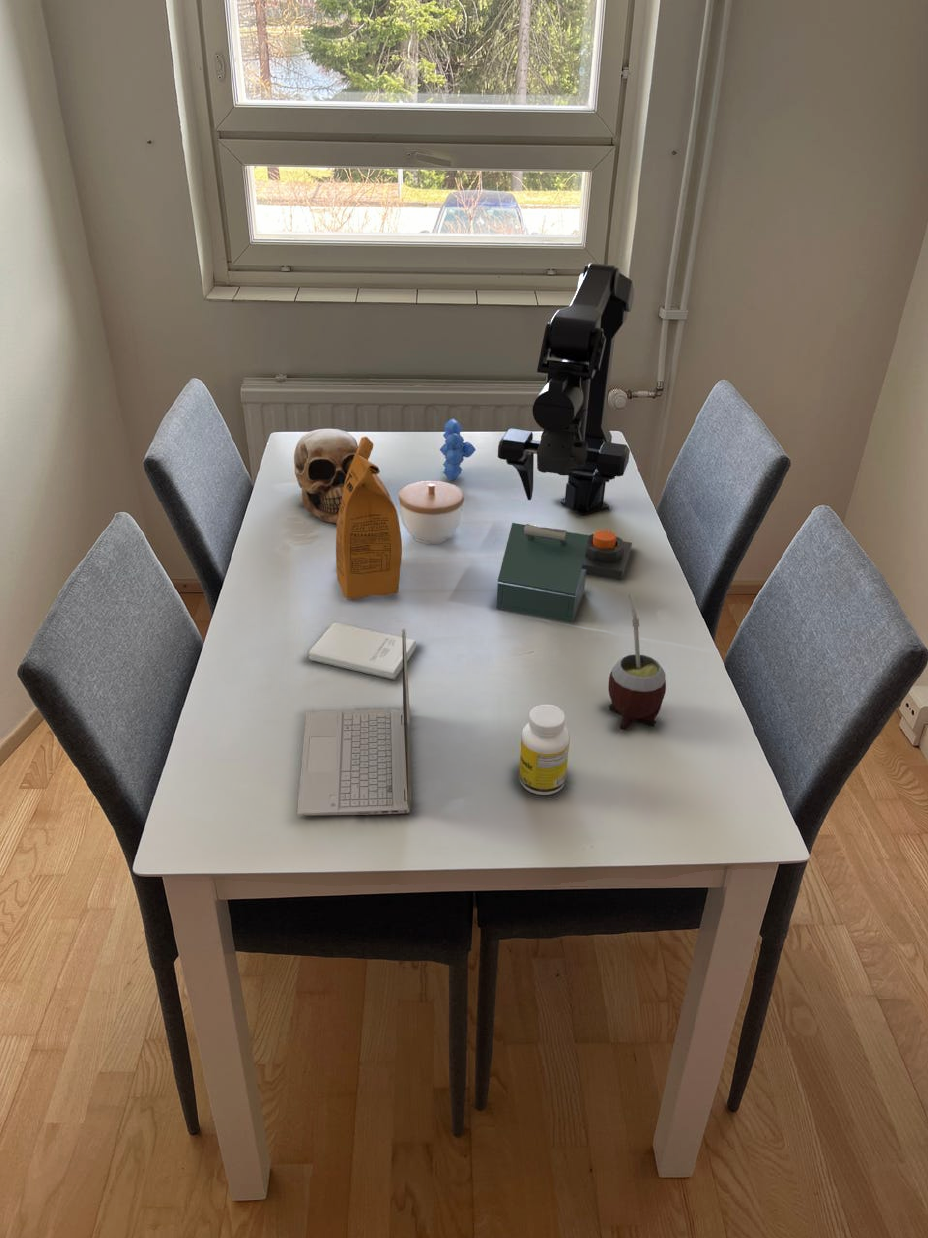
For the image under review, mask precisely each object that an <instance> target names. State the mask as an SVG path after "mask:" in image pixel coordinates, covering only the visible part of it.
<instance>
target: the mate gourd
mask: <svg viewBox="0 0 928 1238" xmlns="http://www.w3.org/2000/svg"><path fill="white" fill-rule="evenodd" d="M625 597H626V600H627V603H628V607H629V608H630V612H631V616H632V619H631V621H632V622H631V623H632V627H633V637H634V639H633V640H634V654H628V655H626V656H623V657H621V658H619V660H618V661H617V662H616V663H615V664H614V665H613V666H612V668H611V671H610V673H609V676H608V694H609V699H610V701H611V702H610V704H609V706H608V710H609V711H610V712H613V713H616V714H618V715H621V717H622V722H621V723H620V725H619V729H620V730H621V731H626V730H627V729H628V728H629V727H630V725H631V724H632V722H634V721H636V722H639V723H641V724H643V725H647V726H649V727H653V728H654V727H655V726H656V723H657V720H655V719H656V717H657V716H658V714H659V713H660V711H661V708H662V704H663V701H664V698H665V696H666V692H667V680H666V678H667V677H666V676H667V675H666V672H665V670H664V668H663V667H662V666H661V664H660V663H659V661H658V660H656V659H654V658H653V657H651V656H648V655H645V654H641V652H640V635H639V633H640V631H639V627H640V622H639V620H640V619H639V618H638V615H637V611H636V608H635V605H634V602H633V601H632V597H631V595H630V593H626V594H625Z"/></svg>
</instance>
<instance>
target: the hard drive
mask: <svg viewBox="0 0 928 1238" xmlns="http://www.w3.org/2000/svg"><path fill="white" fill-rule="evenodd" d="M416 647H417V641H416V639H411V638H406V654H407V662H408V660H409V659H411V656H412V655H413V653H414V651H415V650H416ZM308 658H309V661H312V662H317V663H320V664H325V665H329V666H333V667H338V668H342V669H347V670H351V671H355V672H359V673H363V674H368V675H372V676H376V677H381V678H385V679H389V680H396V679H397V678H398V675H399V674H400V673H401V671H402V670H403V644H402V636H398V635H393V634H389V633H385V632H380V631H375V630H371V629H366V628H362V627H358V626H355V625H354V626H353V625H348V624H344V623H340V622H333V623H332V624H331V625H330V626H329V627H328V629H327V630H326V631H325V632H324V633H323V634H322V636H321V637H320V638H319V639H318V641H316V642H315V644H314V645H313V646H312V648H310V650H309V651H308Z"/></svg>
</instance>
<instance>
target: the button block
mask: <svg viewBox="0 0 928 1238" xmlns="http://www.w3.org/2000/svg"><path fill="white" fill-rule="evenodd" d="M588 535H589V540H588V544H587V548H586V553H585V557H584V561H583V566H582V569H586V575H589V576H595V577H601V578H606V579H611V580H612V579H613V580H616V581H622V580H623V577H624V573H625V570H626V567H627V565H628V562H629V559H630V557H631V553H632V548H633V542H631V541H626V540H625V541H624V540H623V539H622V538H621V537H619V536H617V535H616V543H615V547H614V548H612V549H601V548H597V547H595V546H593V536H594V533H590V534H588Z"/></svg>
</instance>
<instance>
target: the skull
mask: <svg viewBox="0 0 928 1238" xmlns="http://www.w3.org/2000/svg"><path fill="white" fill-rule="evenodd" d="M358 446H359V443H358V442H357V440H356V438H355V437H354V436H353V435H352V434H350V433H349V432H347V431H345V430H342V429H338V428H320V429H319V428H318V429H315V430H311V431H308V432H307V433H305V434H304V435H302V436H301V437H300V439H299V440H298V441H297V443H296V446H295V448H294V452H293V464H294V475H295V477H296V481H297V483H298V487H299V488H300V489H301V502H302V505H303V507H304V508H305V509H306V510H307V512H309V513H310V514H312V515H313V516H314V517H315V518H319V520H320V521H321V522H325V523H332V524H336V525H337V518H338V513H339V508H340V504H341V500H342V496H343V491H344V484H345V479H346V476H347V473H348V470H349V468H350V466H351V464H352V461H353V458H354V456H355V454H356V451H357V449H358Z"/></svg>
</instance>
